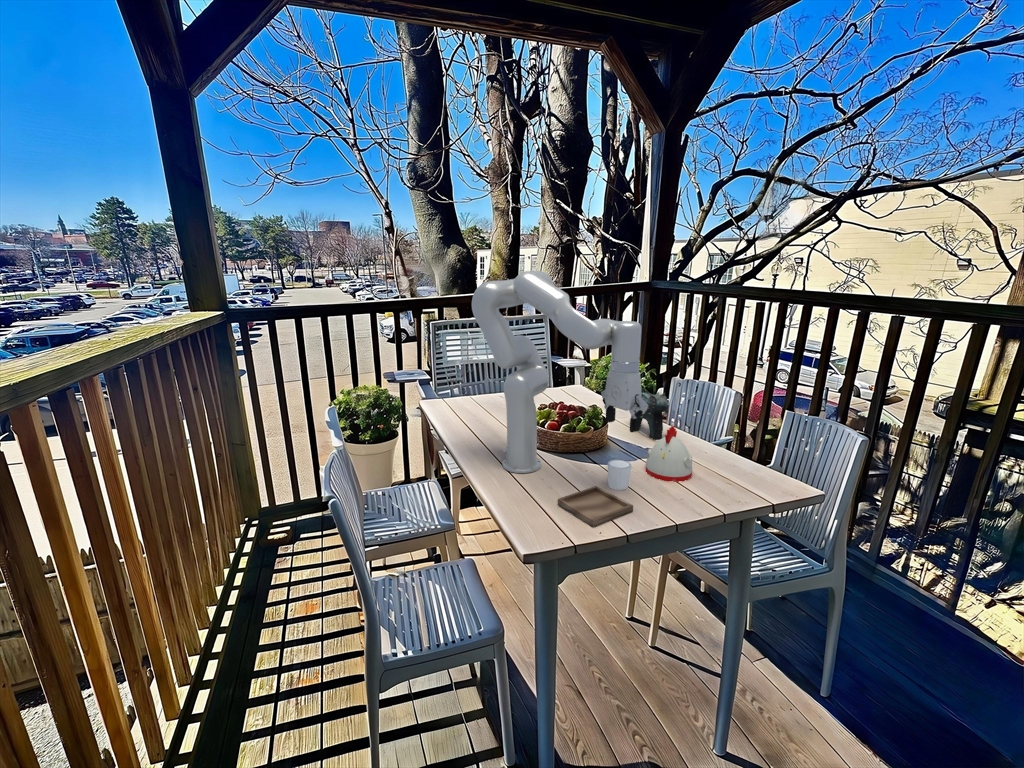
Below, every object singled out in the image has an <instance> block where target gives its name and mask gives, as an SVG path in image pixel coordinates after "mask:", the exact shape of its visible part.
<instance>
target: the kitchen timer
mask: <svg viewBox="0 0 1024 768" xmlns="http://www.w3.org/2000/svg"><path fill="white" fill-rule="evenodd" d="M676 429H677V428H675V426H674V425H673V426H672V425H671V426H670V427H669V428H668V429H667V430H666V434H665V435H664V436H663V437H662V439H660V440H657V441H656V442H655V444H654V445H653V446H652V448H648V451H647V455H646V462H645V469H646V470H645V473H646V472H647V473H646V474H647V475H648V476H650V477H651V478H653V477H654V478H653V479H656V480H659V479H660V480H659V481H663V480H664V481H663V482H669V481H673V482H672V483H679V481H682V482H686V481H689V480H690V479H692V477H693V458H692V457H693V456H692V455H693V454H692V453H689V450H688V448H687V446H686V445H685V444H684V443H683V442H682V441H681V440H680V439H679V438H678V437H677V434H678V431H677V430H676ZM691 476H692V477H691ZM689 478H690V479H689ZM688 479H689V480H688ZM685 480H686V481H685ZM675 481H676V482H675Z"/></svg>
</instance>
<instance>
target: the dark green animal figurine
mask: <svg viewBox="0 0 1024 768" xmlns="http://www.w3.org/2000/svg"><path fill="white" fill-rule="evenodd" d="M651 386H652V387H653V393H650V392H649V391H648V390H647V389H646V388H641V391H642V390H643V391H645V392H641V398H642V399H643V400H644V401H645V402H646V403H647V404H648V408H647V410H646V413H645V414H644V415H643V416H642V417H641V418H640V428H641V426H642V423H643V420H645V421H646V422H647V425H648V429H649V435H648V437H649V439H651V440H652V441H659V440H660V439H662V438H663V431H664V426H663V425H664V421H663V420H664V418H663V413H664V412H666V411H668V408H669V405H668V404H669V401H668V398H667V396H666V395H665V392H663V393H661V394H660V392H659V391H658V392H656V393H655V385H654V383H650V384H649V387H651ZM634 412H635V413H636V411H635V410H634ZM630 418H632V416H631V415H630Z"/></svg>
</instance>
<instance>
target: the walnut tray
mask: <svg viewBox="0 0 1024 768" xmlns="http://www.w3.org/2000/svg"><path fill="white" fill-rule="evenodd" d="M557 506H558V507H560V508H562V509H563V510H565V511H566V512H568V513H570V514H571V515H573V516H575V517H576V518H578V519H580V520H581V521H582V522H584V523H585V524H587V525H589V526H590V527H592V528H596V527H598V526H601V525H603V524H606V523H608V522H610V521H614V520H615V519H618V518H621V517H623V516H626V515H629V514H631V513H633V511H634V505H633V504H631V503H629V502H627V501H625V500H624V499H622V498H620V497H618V496H616V495H614V494H612V493H610V492H609V491H606V490H604V489H603V488H600V487H599V486H598V485H594V486H592V487H589V488H586V489H583V490H580V491H577V492H574V493H570V494H569V495H565V496H562V497H559V498H557Z"/></svg>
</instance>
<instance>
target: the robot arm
mask: <svg viewBox="0 0 1024 768" xmlns="http://www.w3.org/2000/svg"><path fill="white" fill-rule="evenodd" d="M524 304H528V305H529V306H530V307H532V308H534V309H536V310H537V311H538V312H540V313H542V314H543V315H544V316H545V317H547V318H548V319H550V320H551V321H552V323H553V324H554V327H556V328H557V330H558V331H559V332H560V333H561V334H562V335H564V336H565V337H566V338H567V339H569V340H570V341H572V342H574V343H575V344H577V345H578V346H580V347H582V348H584V349H586V350H597V349H600V348H602V347H607V346H610V345H611V356H610V357H611V360H610V361H609V362H610V363H609V364H610V369H609V370H608V373H607V376H606V382H605V389H604V390H602V391H601V392H600V394H601V397H602V402H603V405H604V406H603V407H604V409H605V419H604V420H605V423H609V424H610V423H614V422H615V421H616V411H617V410H616V409H620V410H622V411H626V412H627V411H628V413H630V419H629V432H630V433H636V432H639V431H640V428H641V427H640V418H641V417H642V416H643V415H644V414H645V413H646V410H647V408H648V404H647V403H646V402H645V401H644V400H643V399H642V398H641V393H642V390H641V389H642V379H641V373H640V362H641V361H640V357H641V343H642V342H641V341H642V324H641V323H639V322H638V321H634V320H633V321H632V320H622V321H620V320H614V319H609V318H599V319H595V320H592V319H589V318H588V317H586V316H585V315H584V314H581V313H580V312H579V311H578V310H576V309H575V308H574V306H572V304H571V302H570V295H569V294H568V293H567V292H565V291H564V290H562V289H560V288H559V287H557V285H554V281H553V279H552V277H551V276H550V275H549V274H548V273H547V272H545V271H543V270H542V271H541V270H527V271H522V272H521V273H519V274H518V275H517V276H516V277H515V278H511V279H507V280H506V279H503V280H502V279H501V280H490V281H486V282H483V283H481V284H480V285H478V287H477V288H476V289H475V291H474V293H473V295H472V300H471V311H472V314H473V317H474V319H475V321H476V323H477V324H478V326H479V328H480V330H481V332H482V334H483V337H484V339H485V341H486V343H487V345H488V348H489V349H490V353H491V355H492V356H493V359H494V361H495V362H496V364H497V366H498V367H499V368H501V369H504V370H508V369H513V368H516V370H515V371H514V372H511V373H510V374H509V375H507V377H506V378H505V381H504V383H503V393H504V394H503V395H504V399H505V404H506V405H505V407H506V434H507V435H506V448H504V449H503V453H504V454H506V457H505V459H503V461H502V468H503V469H504V470H506V471H508V472H511V473H515V474H528V473H533V472H536V471H539V470H540V469H541V468H542V461H541V460H540V458H538V457H537V455H538V453H537V452H538V451H537V450H538V449H537V447H538V446H537V443H538V442H537V440H538V429H537V428H538V427H537V426H538V419H537V418H538V413H537V411H538V410H537V407H536V403H535V399H534V398H535V397H536V396H538V395H540V394H542V393H543V392H545V391H546V390H547V388H548V386H549V382H550V378H549V374H548V370H547V368H546V366H545V364H544V361H543V359H542V357H541V355H540V353H539V351H538V349H537V347H536V345H535V343H534V341H532V339H530V338H529V337H527V336H525V335H521V334H520V335H514V333H513V331H512V329H511V326H510V324H509V322H508V320H507V319H506V318H505V317H504V316H503V314H502V313H501V312H500V309H505V308H506V309H507V308H513V307H516V306H519V305H524ZM634 410H635V411H636V413H635V412H634ZM631 416H632V418H631Z"/></svg>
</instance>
